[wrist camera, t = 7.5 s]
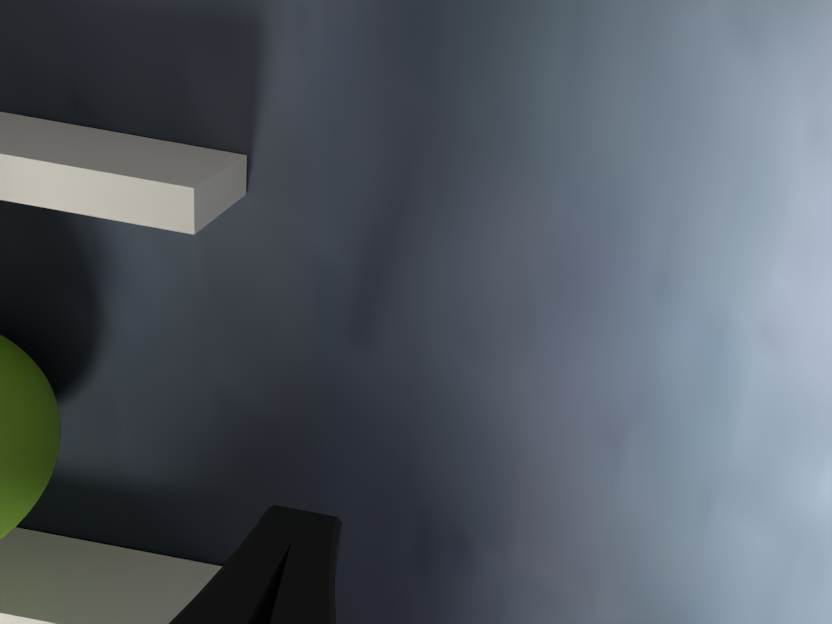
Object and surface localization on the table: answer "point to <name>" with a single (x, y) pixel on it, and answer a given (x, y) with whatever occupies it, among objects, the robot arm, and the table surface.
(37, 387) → the snail figurine
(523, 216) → the table surface
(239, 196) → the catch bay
